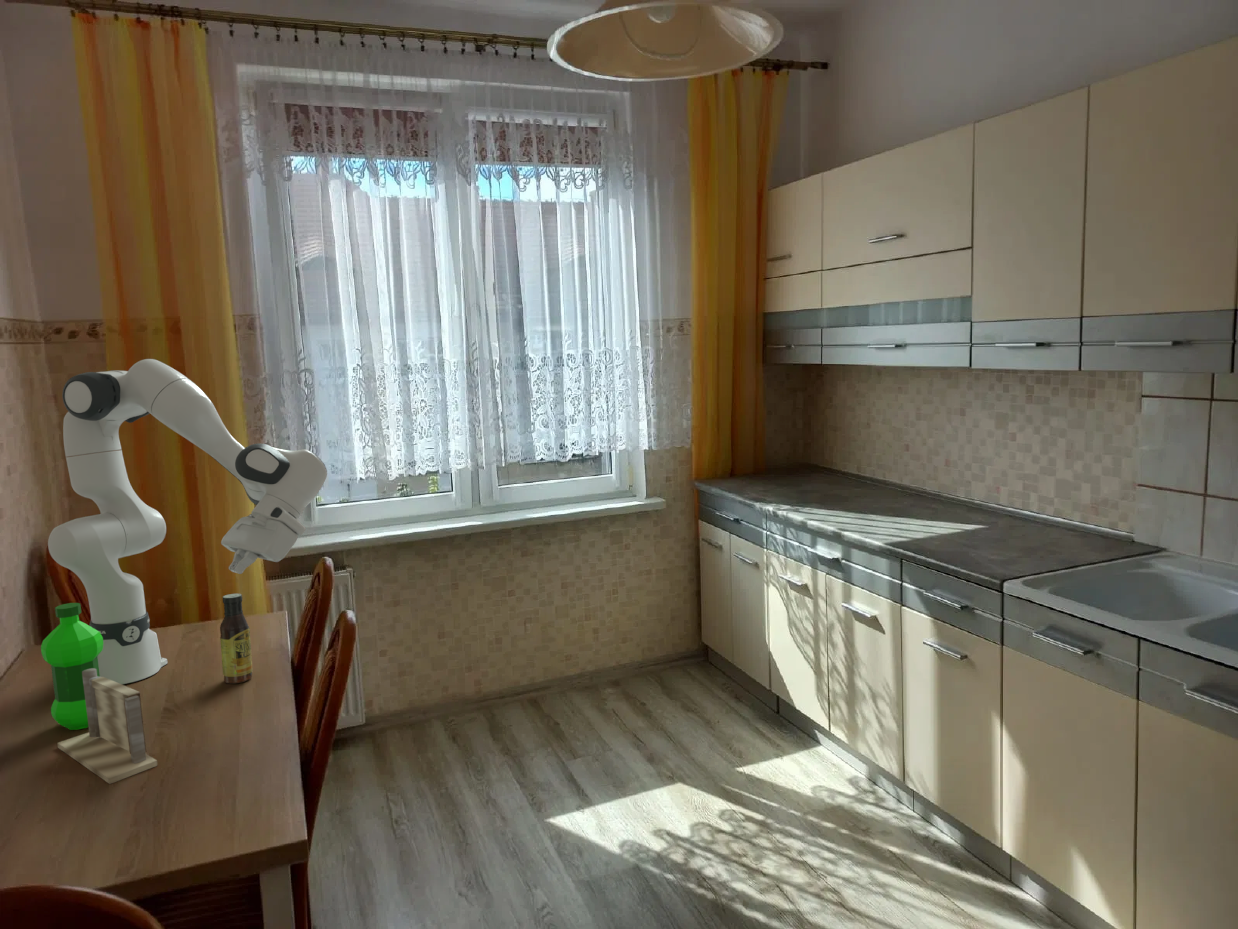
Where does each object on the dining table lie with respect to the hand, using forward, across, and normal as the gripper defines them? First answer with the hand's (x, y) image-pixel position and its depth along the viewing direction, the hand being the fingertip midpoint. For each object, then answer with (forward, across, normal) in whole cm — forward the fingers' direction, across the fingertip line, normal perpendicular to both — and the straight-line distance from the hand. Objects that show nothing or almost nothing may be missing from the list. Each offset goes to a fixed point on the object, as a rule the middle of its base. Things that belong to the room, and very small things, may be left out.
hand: (234, 571), depth 174 cm
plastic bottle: (+38, -20, +4) cm, 43 cm away
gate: (+37, 0, +2) cm, 37 cm away
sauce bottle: (+16, -16, +26) cm, 34 cm away
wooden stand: (+40, 0, +1) cm, 40 cm away
